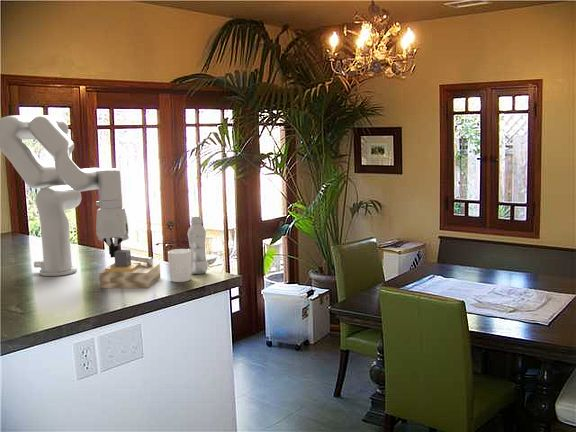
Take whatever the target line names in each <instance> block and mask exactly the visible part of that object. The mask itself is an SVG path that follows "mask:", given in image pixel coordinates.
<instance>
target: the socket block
mask: <svg viewBox="0 0 576 432" xmlns="http://www.w3.org/2000/svg"><path fill="white" fill-rule="evenodd" d="M140 263H141V266H140V267H138V268H137V269H135V270H134V271H132V272H105V269H103V270H101V271H99V272H98V277H99V288H100V289H109V288H110V289H149V287H151V286H152V285H154V283H155V282H157V281H158V280H159V279H160V278H161V265H160V263H157V262H156V263H155V262H153V266H147V263H144V262H140Z"/></svg>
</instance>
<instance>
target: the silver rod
mask: <svg viewBox="0 0 576 432" xmlns="http://www.w3.org/2000/svg"><path fill="white" fill-rule="evenodd" d="M131 261H134V262H138V263H147V266H153V263H154V260H153V257H152V256H144V255H138V254H131Z"/></svg>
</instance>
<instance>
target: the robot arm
mask: <svg viewBox="0 0 576 432" xmlns="http://www.w3.org/2000/svg"><path fill="white" fill-rule="evenodd" d="M68 132H69V126H68V123H67V122H66V120H65V119H64V118H63V117H61V116H58V115H37V116H36V115H7V116H3V117H1V118H0V151H1V152H2V154H3V155H4V156H5V157H6V159H7V160H8V161H9V162H10V163H11V164H12V166H13V168H14V169H15V171H16V172H17V173H18V174H19V176H20V177H21V179H22V180H23V181H24V183H25V184H26V186H28V187H30V188H31V189H40V190H38V192H37V194H36V197H35V204H36V209H37V212H38V215H39V223H40V235H41V246H42V260H41V261H38V260H37V261H36V260H35V261H34V262H33V267H34V268H40V270H39V275H40V276H42V277H43V276H44V277H58V276H59V277H61V276H67V275H71V274H74V273H76V272H77V271H78V270H77V267H76V266H74V265H73V263H72V250H71V235H70V223H69V219H68V216H67V215H66V213H65V211H68V210H73V209H75V208H77V207H78V206H79V205H80V204H81V202H82V193H81V192H87V191H94V190H98V198H99V200H98V201H95V205H96V206H98V208H97V210H96V220H95V221H96V223H95V226H96V228H95V230H96V237H97V240H98V241H100V242H101V241H102V242H104V243H105V244H106V245H107V247H108V252H109V255H110V258H115V254H114V252H116V251H118V250H120V245H121V243H122V242H124V241H127V240H129V238H130V236H129V223H128V218H127V217H128V216H127V213H126V209H125V207H123V197H122V196H123V195H122V194H123V193H122V184H121V183H122V181H121V180H122V177H121V171H120V170H119V169H118V168H100V167H89V168H88V167H87V168H80V167H79V166H78V165H77V164H76V163H75V162H74V161H73V160H72V158H71V156H70V155H71V154H72V153H73V151H74V149H75V143H74V141H72V140H71V139H70V138H69V137H68V136H67V135H68ZM22 140H37V142H39V143H40V145H41V146H42V147H43V148H44V149H45V151H46V152H48V153H49V155H51V157H52V158H53V160H44V161H43V160H41V159H39V157H38V156H37V155H36V153H35V151H34V150H33V149H32V148H31V147H29V146H28V145H27V144H25V143H24V142H23V141H22Z"/></svg>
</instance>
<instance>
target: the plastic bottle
mask: <svg viewBox="0 0 576 432" xmlns="http://www.w3.org/2000/svg"><path fill="white" fill-rule="evenodd" d="M202 223H203V221H202V217H201V216H199V217H198V216H195V217H193V216H191V218H190V224H191V225H190V227H188V230H187V238H188V244H189V249H190V250H191V274H193V275H194V274H195V275H201V274H202V275H203V274H205V273H206V272H207V271H208V261H207V256H206V235H207V232H206V229H205V227H204V226H203V225H202Z"/></svg>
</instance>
